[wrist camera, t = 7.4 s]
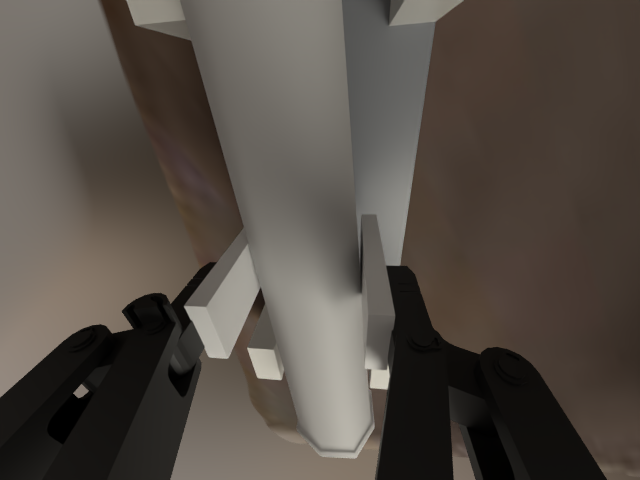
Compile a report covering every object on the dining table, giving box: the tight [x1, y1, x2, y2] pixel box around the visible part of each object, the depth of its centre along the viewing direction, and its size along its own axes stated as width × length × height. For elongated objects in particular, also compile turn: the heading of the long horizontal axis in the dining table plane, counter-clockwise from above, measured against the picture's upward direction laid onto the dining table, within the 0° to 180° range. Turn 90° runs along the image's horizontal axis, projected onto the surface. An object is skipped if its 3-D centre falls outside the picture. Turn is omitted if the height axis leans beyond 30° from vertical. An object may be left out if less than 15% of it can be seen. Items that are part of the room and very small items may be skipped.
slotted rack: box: [126, 0, 463, 389], centre depth 15 cm, size 11×30×6 cm, turn 3°
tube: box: [180, 0, 375, 458], centre depth 12 cm, size 5×5×25 cm
